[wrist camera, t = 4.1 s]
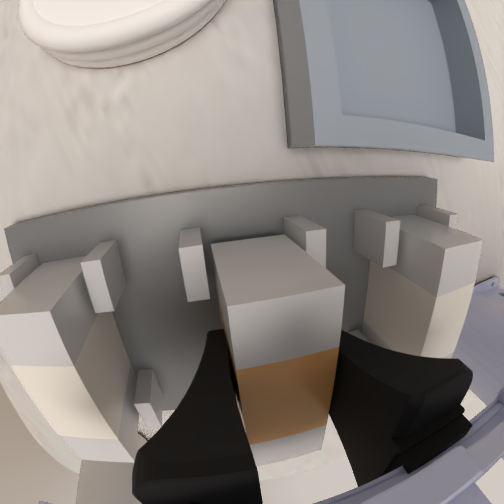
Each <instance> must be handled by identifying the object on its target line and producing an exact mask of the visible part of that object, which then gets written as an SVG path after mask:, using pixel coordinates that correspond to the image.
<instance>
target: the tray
mask: <svg viewBox="0 0 504 504" xmlns="http://www.w3.org/2000/svg"><path fill="white" fill-rule="evenodd" d="M273 2H274V9H275V17H276V25H277V33H278V42H279V51H280V60H281V70H282V81H283V92H284V103H285V116H286V129H287V143H288V148H302V147H341V148H371V149H388V150H402V151H413V152H423V153H432V154H441V155H448V156H456V157H463V158H470V159H478V160H485V161H491V162H494V144H493V126H492V115H491V106H490V98H489V91H488V85H487V79H486V74H485V69H484V64H483V59H482V55H481V51H480V47H479V43H478V39H477V36H476V32H475V29H474V26H473V23H472V20H471V17H470V14H469V11H468V8H467V5H466V3H465V0H273Z"/></svg>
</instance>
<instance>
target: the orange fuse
mask: <svg viewBox="0 0 504 504" xmlns="http://www.w3.org/2000/svg"><path fill="white" fill-rule="evenodd" d="M211 252H212V260H213V268H214V275H215V283H216V290H217V297H218V304H219V311H220V318H221V325H222V329H224V332H225V336H226V339H227V344H228V350H229V357H230V363H231V369H232V375H233V382H234V388H235V394H236V401H237V405H238V408H239V412H240V415H241V419H242V422H243V425H244V429H245V432H246V435H247V438H248V441H249V444H250V447H251V450H252V453H253V457H254V460H255V464H256V466H260V465H265V464H270V463H274V462H278V461H282V460H286V459H290V458H294V457H297V456H301V455H304V454H308V453H311V452H314V451H317V450H321V448H322V443H323V439H324V434H325V429H326V424H327V419H328V414H329V409H330V404H331V398H332V392H333V386H334V380H335V373H336V367H337V359H338V352H339V344H340V336H341V327H342V317H343V306H344V294H345V284H344V283H342V282H341V281H340V280H339V279H338V278H337V277H335V276H334V275H333V274H332V273H331V272H329V271H328V270H327V269H326V268H325V267H323V266H322V265H321V264H320V263H319V262H317V261H316V260H315V259H314V258H313V257H311V256H310V255H309V254H308V253H307V252H305V251H304V250H303V249H302V248H300V247H299V246H298V245H297V244H296V243H294V242H293V241H292V240H291V239H289V238H288V237H287V236H286V235H284V234H283V235H276V236H268V237H260V238H252V239H244V240H237V241H229V242H222V243H214V244H211Z"/></svg>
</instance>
